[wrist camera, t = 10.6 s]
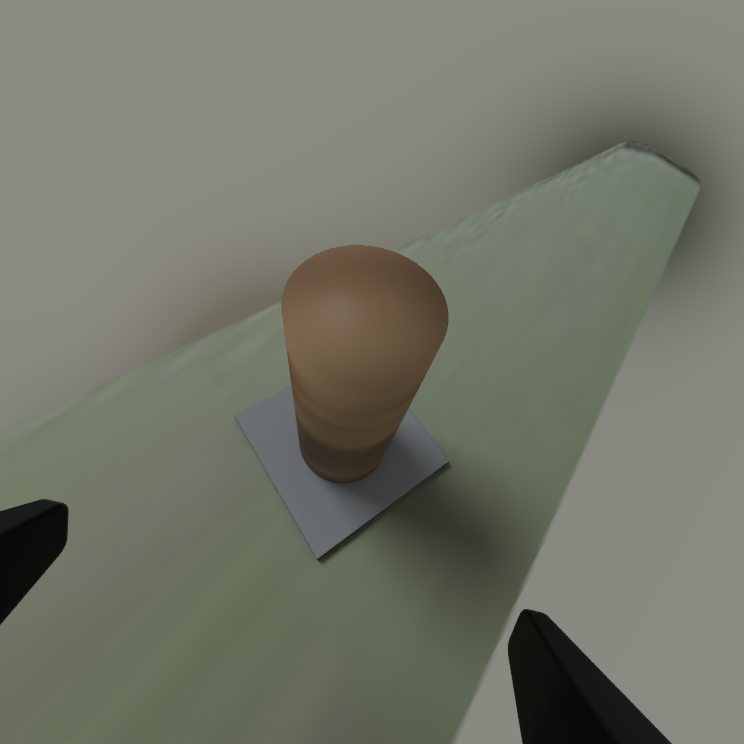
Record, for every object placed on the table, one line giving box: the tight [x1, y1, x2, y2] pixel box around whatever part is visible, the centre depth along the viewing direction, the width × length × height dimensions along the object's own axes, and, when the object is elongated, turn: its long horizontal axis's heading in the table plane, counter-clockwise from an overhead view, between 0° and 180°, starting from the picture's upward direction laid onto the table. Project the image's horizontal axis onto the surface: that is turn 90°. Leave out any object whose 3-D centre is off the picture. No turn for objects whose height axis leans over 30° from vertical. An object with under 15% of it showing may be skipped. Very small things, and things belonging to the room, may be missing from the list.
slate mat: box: [234, 386, 450, 559], centre depth 22 cm, size 9×9×1 cm
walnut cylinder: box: [282, 245, 448, 483], centre depth 16 cm, size 5×5×12 cm
